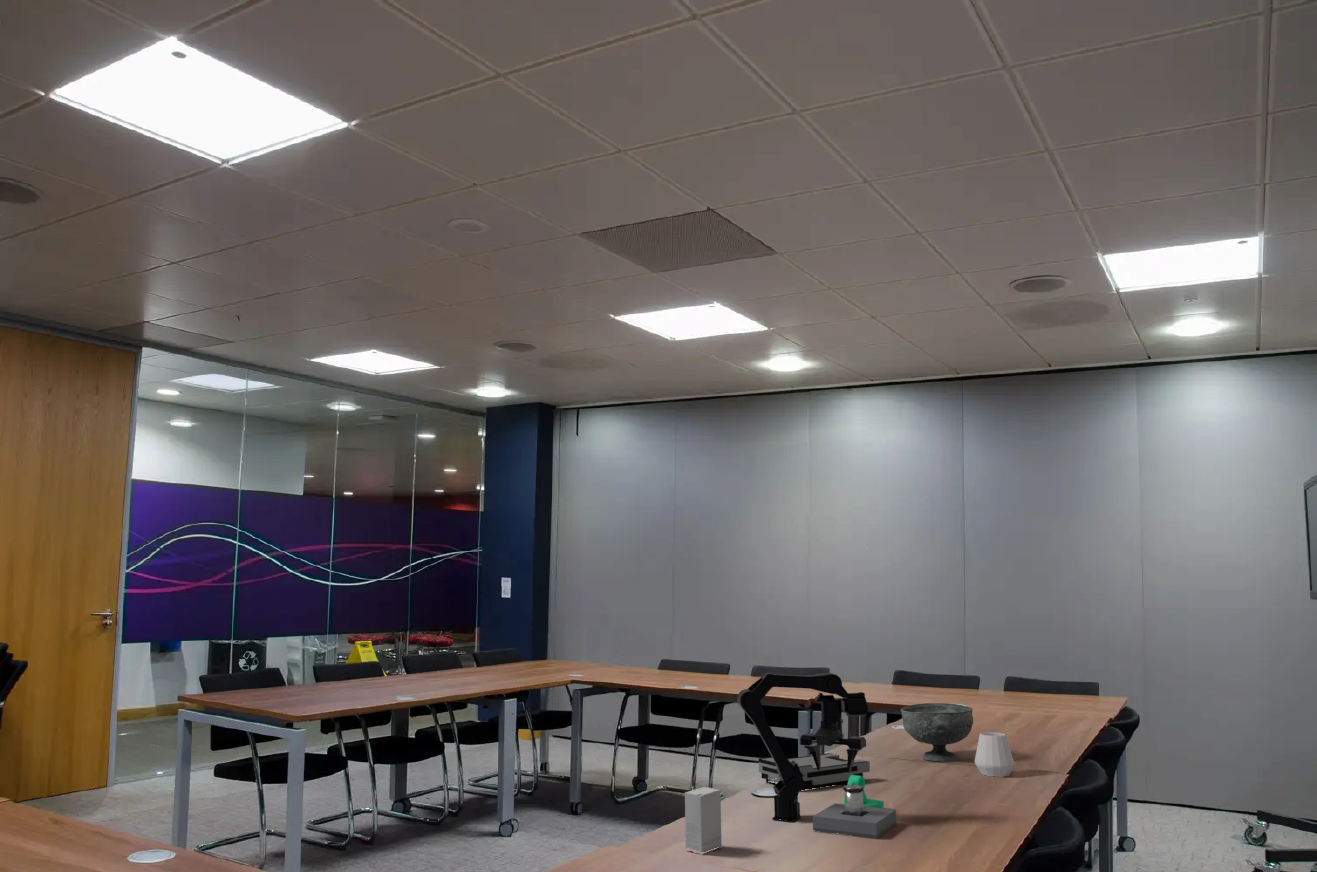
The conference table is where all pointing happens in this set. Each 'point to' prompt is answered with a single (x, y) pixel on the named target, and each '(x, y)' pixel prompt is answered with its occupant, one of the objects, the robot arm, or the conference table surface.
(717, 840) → the skincare box
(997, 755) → the white faceted vase
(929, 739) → the decorative bowl
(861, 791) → the tube
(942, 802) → the conference table surface
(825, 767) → the game console
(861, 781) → the camera mount
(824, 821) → the mount block
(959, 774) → the conference table surface
